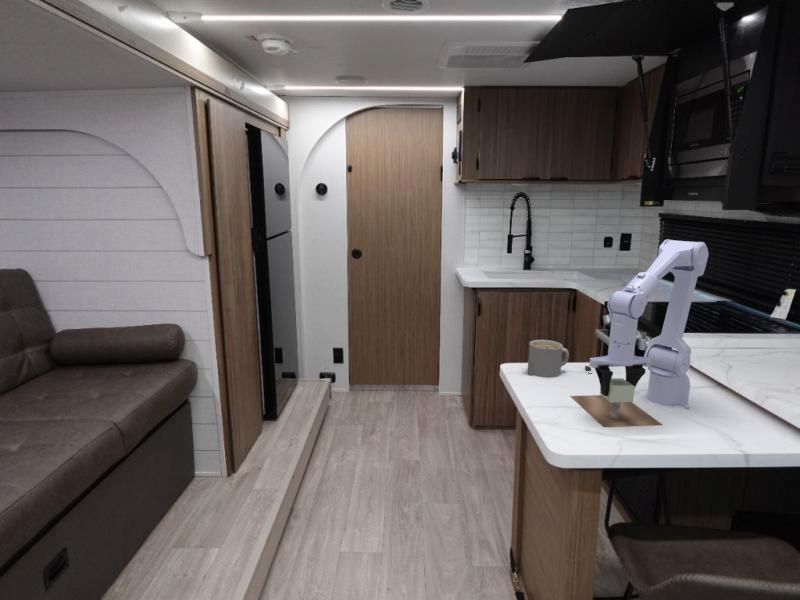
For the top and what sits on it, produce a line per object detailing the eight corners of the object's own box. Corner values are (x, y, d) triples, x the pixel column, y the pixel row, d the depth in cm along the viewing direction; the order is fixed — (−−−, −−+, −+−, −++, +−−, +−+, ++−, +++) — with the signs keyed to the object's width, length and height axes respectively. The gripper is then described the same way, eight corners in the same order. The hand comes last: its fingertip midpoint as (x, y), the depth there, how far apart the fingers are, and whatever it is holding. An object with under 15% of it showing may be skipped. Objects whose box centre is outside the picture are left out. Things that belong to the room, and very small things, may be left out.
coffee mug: (535, 381, 151) (537, 349, 149) (522, 370, 161) (524, 340, 159) (576, 379, 153) (579, 348, 151) (561, 368, 163) (564, 339, 161)
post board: (621, 397, 139) (623, 377, 138) (662, 428, 121) (665, 405, 119) (569, 399, 138) (571, 378, 136) (603, 431, 119) (605, 407, 118)
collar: (620, 393, 126) (622, 378, 125) (633, 401, 120) (634, 386, 120) (599, 393, 125) (601, 378, 124) (611, 402, 120) (612, 386, 119)
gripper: (641, 336, 124) (635, 387, 127) (585, 336, 123) (580, 388, 126) (658, 344, 118) (651, 398, 120) (599, 345, 116) (594, 400, 119)
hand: (616, 394), depth 123 cm, fingers closed on collar, 6 cm apart
